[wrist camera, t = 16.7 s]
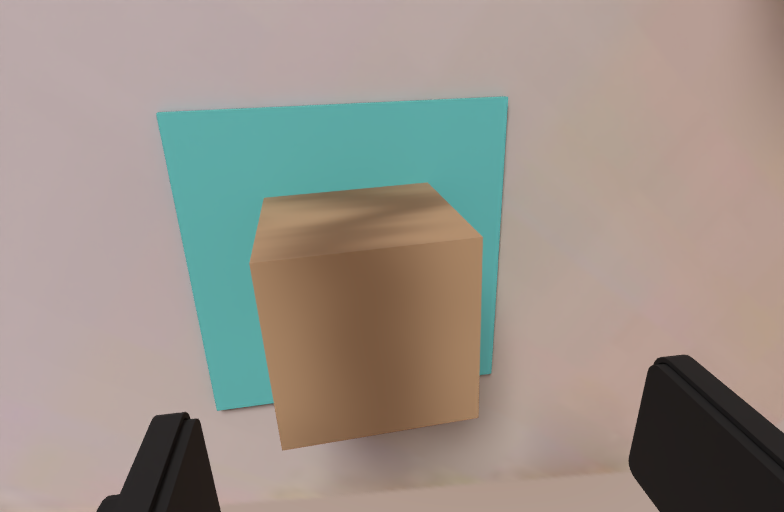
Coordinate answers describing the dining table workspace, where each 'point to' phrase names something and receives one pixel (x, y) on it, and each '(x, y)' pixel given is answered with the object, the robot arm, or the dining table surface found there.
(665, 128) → the dining table surface
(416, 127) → the teal mat
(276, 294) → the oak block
